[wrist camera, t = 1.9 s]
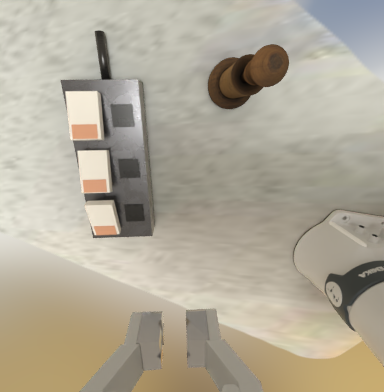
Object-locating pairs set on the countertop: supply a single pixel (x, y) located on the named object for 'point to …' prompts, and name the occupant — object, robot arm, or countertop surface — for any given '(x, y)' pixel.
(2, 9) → the countertop surface
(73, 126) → the rocker
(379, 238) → the robot arm
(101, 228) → the block
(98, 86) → the power strip
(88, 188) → the rocker middle
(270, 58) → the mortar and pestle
